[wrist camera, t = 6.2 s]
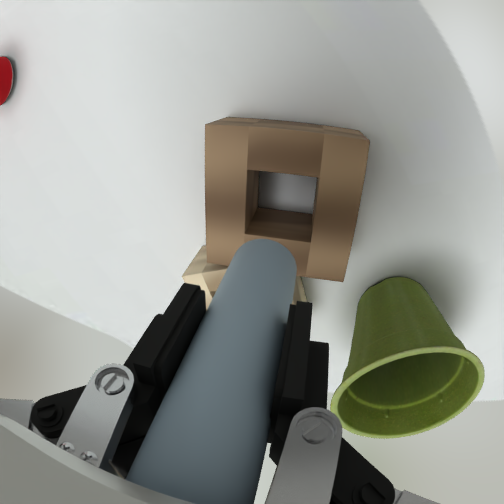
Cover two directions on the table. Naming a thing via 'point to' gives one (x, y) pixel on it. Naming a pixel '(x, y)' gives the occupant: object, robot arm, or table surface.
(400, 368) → the plant pot
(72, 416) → the robot arm
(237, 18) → the table surface
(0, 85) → the beverage can
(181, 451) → the blue capped cylinder
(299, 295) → the pale wooden square holder
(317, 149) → the wooden square frame
